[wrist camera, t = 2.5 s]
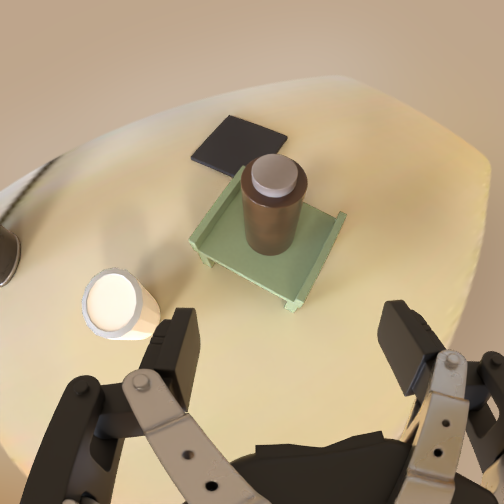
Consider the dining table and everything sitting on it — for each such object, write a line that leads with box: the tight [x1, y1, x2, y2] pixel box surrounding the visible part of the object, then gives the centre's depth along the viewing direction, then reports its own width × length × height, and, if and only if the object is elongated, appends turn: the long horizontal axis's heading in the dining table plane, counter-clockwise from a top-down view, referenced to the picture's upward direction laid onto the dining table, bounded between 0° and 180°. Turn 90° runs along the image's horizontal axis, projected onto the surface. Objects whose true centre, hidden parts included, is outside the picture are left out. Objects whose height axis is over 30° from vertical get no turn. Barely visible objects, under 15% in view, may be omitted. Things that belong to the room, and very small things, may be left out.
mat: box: [191, 115, 287, 178], centre depth 39 cm, size 10×10×1 cm
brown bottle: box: [241, 154, 307, 256], centre depth 24 cm, size 5×5×10 cm
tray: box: [189, 166, 347, 313], centre depth 30 cm, size 12×10×7 cm
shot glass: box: [82, 268, 161, 340], centre depth 27 cm, size 7×7×7 cm
